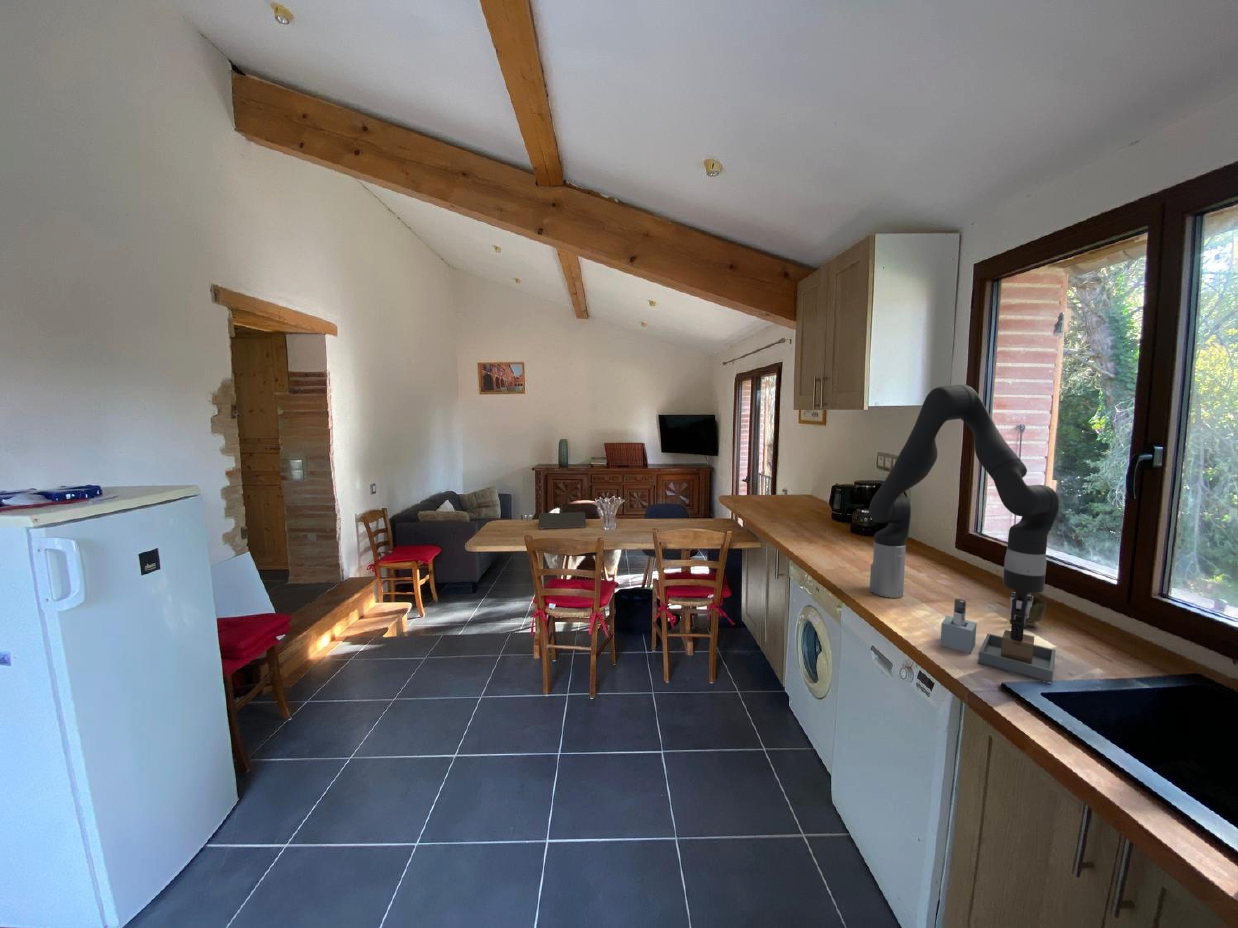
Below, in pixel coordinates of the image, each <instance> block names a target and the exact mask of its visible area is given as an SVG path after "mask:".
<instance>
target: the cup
mask: <svg viewBox="0 0 1238 928" xmlns="http://www.w3.org/2000/svg"><path fill="white" fill-rule="evenodd" d="M1030 596H1033V603H1032V606H1031V609H1030V611H1029V617H1028V618H1027V624H1026V628H1035V627H1036V626H1037V623H1038V622H1040V621H1041V620H1042V619H1043V618H1044V616H1045V612H1046V608H1047V604H1048V601H1047V600H1046V599H1043V598H1042V597H1041V598H1040V597H1039V596H1038V595H1032V594H1030Z"/></svg>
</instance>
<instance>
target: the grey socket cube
mask: <svg viewBox="0 0 1238 928" xmlns="http://www.w3.org/2000/svg"><path fill="white" fill-rule="evenodd" d="M953 619H954V616H949V615H946V616H945V618H944V619H943V621H942V622H941V625H940V626H941V629H940V643H939V645H940V646H941V647H944V648H949V649H950V650H951V649H952V650H954V651H955V650H956V651H959V652H962V653H966V654H970V655H971V654H972V652H973V650H974V648H975V646H976V637H977V624H978V623H977V622H976V621H971V620H969V619H968V620H966V619H965V626H964V627H963V626H959V625H955V624H953Z"/></svg>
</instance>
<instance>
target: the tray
mask: <svg viewBox="0 0 1238 928" xmlns="http://www.w3.org/2000/svg"><path fill="white" fill-rule="evenodd" d="M1002 637H1003V636H1001V635H996V634H993V633H987V634H986V636H985V638H984V640H983V642H982V645H981V647H980V649H979V653H978V664H979V665H982V666H986V667H989V668H994V669H997V670H1001V671H1004V672H1006V673H1007V672H1008V673H1010V674H1014V675H1018V676H1021V677H1025V678H1028V679H1032V680H1035V681H1039V682H1042V681H1045V682H1051V683H1053V676H1054V671H1055V670H1054V668H1055V660H1056V653H1057V652H1056V649H1053V648H1048V647H1044V646H1041V645H1036V644H1034V647H1033V659H1032V664H1027V663H1023V662H1020V661H1016V660H1012V659H1009V658H1005V657H1001V648H1002ZM1045 682H1044V683H1045Z"/></svg>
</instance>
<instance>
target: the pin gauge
mask: <svg viewBox="0 0 1238 928" xmlns="http://www.w3.org/2000/svg"><path fill="white" fill-rule="evenodd" d="M966 609H967V600H965V599H962V598H955V599H954V607H953V617H954V619H953V624H955V625H959V626H963V627H964V626H965V620H966V611H967V610H966Z"/></svg>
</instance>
